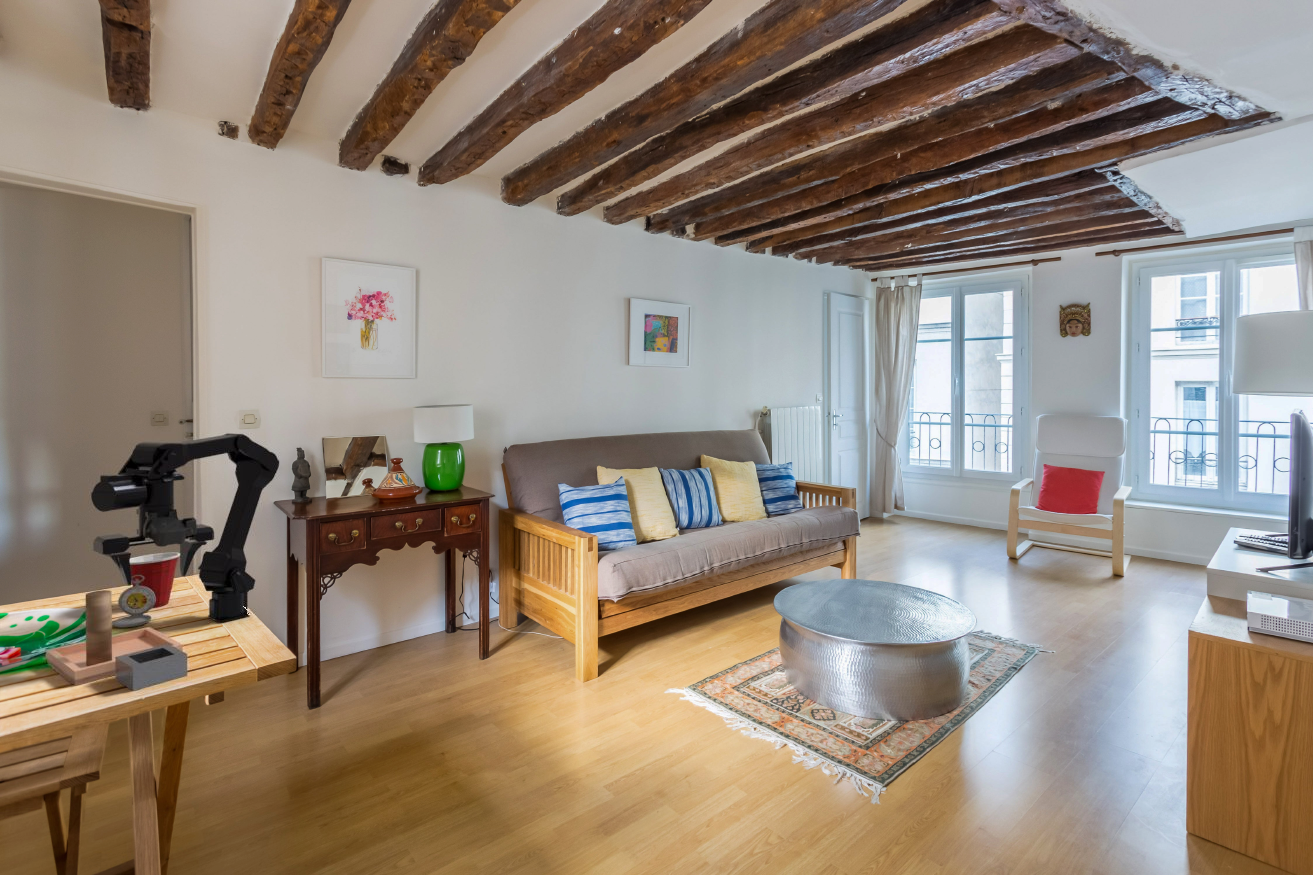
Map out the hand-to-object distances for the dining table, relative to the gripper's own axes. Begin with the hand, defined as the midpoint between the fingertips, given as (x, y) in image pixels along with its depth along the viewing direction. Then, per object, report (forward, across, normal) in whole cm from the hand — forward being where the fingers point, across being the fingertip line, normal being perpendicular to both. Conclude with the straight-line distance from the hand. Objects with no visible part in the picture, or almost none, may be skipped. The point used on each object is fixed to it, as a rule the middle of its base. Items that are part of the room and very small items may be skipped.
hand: (156, 580), depth 130 cm
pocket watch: (+13, +2, +18) cm, 22 cm away
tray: (+13, -8, -4) cm, 16 cm away
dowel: (+12, -11, -6) cm, 17 cm away
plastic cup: (+13, +9, +29) cm, 33 cm away
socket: (+13, -7, -18) cm, 23 cm away
